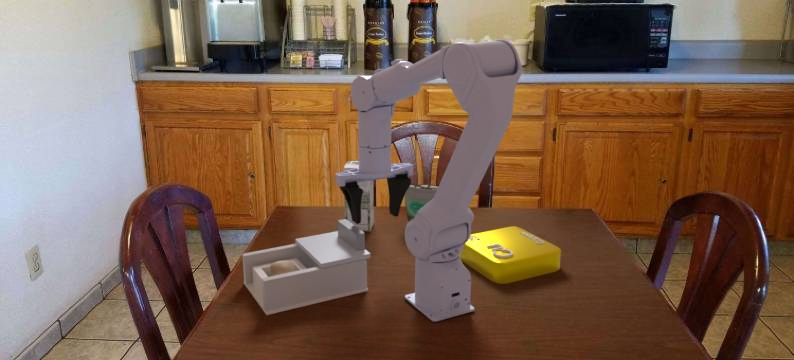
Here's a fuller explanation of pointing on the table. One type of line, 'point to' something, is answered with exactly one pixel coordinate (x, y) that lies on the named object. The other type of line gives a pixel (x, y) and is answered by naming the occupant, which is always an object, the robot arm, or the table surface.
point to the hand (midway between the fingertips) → (375, 218)
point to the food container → (418, 198)
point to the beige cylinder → (282, 267)
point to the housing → (299, 279)
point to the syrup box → (362, 202)
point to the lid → (336, 245)
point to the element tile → (510, 255)
